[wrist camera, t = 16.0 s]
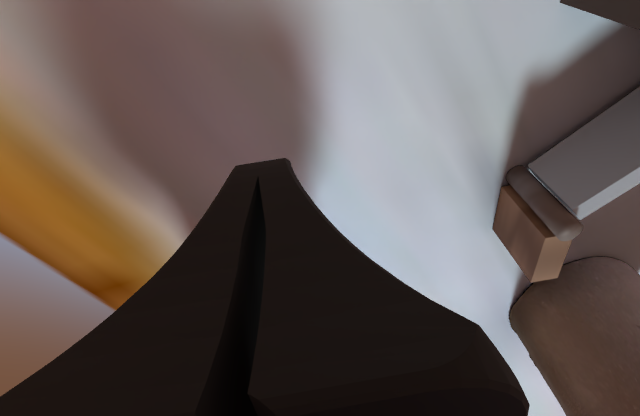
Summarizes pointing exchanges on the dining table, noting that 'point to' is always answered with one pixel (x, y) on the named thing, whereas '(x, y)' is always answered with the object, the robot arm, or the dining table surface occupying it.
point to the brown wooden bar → (534, 226)
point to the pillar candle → (586, 336)
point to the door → (595, 159)
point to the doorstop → (611, 10)
